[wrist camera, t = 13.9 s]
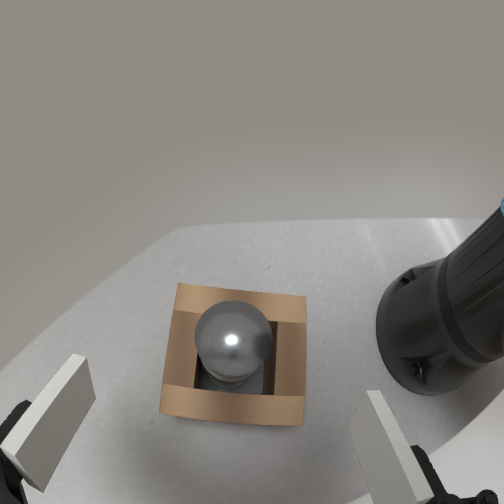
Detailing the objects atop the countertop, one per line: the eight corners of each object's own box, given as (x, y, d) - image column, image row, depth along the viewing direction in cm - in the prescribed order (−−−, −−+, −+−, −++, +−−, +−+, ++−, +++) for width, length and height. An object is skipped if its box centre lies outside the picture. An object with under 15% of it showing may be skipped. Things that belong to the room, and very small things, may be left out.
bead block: (289, 318, 28) (306, 296, 22) (285, 421, 23) (303, 425, 17) (186, 308, 27) (178, 283, 22) (172, 411, 22) (158, 413, 17)
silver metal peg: (251, 347, 26) (273, 303, 16) (249, 389, 24) (270, 377, 14) (208, 343, 26) (199, 296, 15) (204, 385, 24) (190, 370, 13)
